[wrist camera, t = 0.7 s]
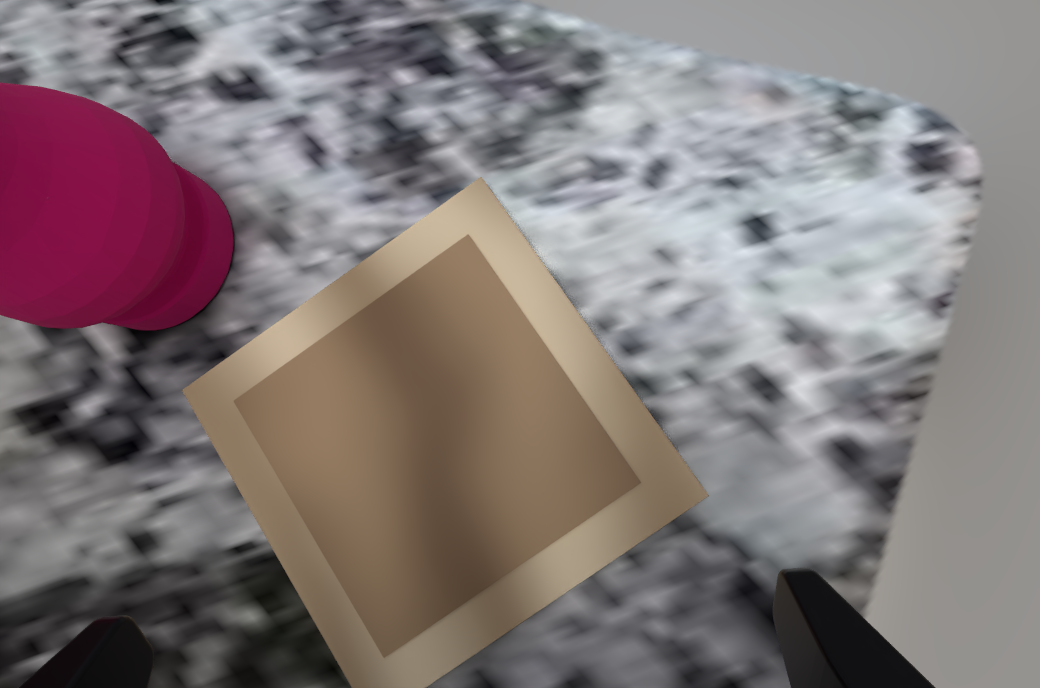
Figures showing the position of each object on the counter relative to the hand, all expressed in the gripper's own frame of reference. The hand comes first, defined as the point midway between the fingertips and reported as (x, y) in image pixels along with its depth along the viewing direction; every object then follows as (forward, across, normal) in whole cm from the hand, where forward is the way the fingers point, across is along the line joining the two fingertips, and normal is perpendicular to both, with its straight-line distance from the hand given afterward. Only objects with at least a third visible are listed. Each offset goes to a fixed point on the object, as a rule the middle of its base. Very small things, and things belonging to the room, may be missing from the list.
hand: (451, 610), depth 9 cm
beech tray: (+12, +3, +7) cm, 14 cm away
